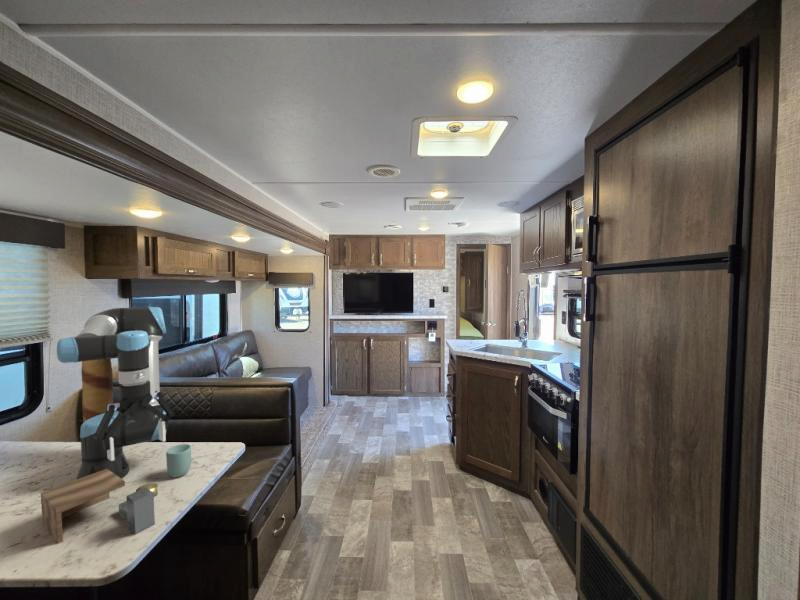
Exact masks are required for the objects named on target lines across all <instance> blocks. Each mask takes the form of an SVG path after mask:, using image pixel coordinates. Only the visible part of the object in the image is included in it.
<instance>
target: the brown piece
mask: <svg viewBox="0 0 800 600" xmlns="http://www.w3.org/2000/svg"><path fill="white" fill-rule="evenodd" d="M76 479H77V478H76ZM76 479H75V480H72V481H70V482H67V483H64V484H62V485H59V486H56V487H54V488H51V489H48V490H45V491H43V492H40V501H41V503H40V504H41V520H42V526H43V528H45V530H46V531H47V532H48V533H49V534H50V535H51V537H52V538H53V540H55V542H56V543H57V544H60V543H62V542H64V537H63V536H64V535H63V521H62V519H64V518H67V517H68V516H71V515H73V514H75V513H77V512H80V511H82V510H85V509H87V508H89V507H91V506H94V505H96V504H99V503H100V502H103V501H106V500H107V499H110V493H112V492H113V491H116V490H117V489H120V488H123V487H125V486H126V481H125V480H124V479H123V478H120V477H118V476H117V475H115V474H114V473H112V472H111V471H110V470H108V469H104V470H102V471H99V472H96V473H94V474H91V475H88V476H86V477H83V478H80V479H77V480H76Z"/></svg>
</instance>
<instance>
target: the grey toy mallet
mask: <svg viewBox="0 0 800 600" xmlns="http://www.w3.org/2000/svg"><path fill="white" fill-rule="evenodd" d="M154 498H155V497H154V493H153V492H152V491H151V490H149V489H148V488H146V487H145V488H143V489H141V490H139V491H136V490H135V491H134V492H132V493H130V494H128V495H126V501H123V502H121V503H119V504H118V515H120V514H121V515H122V516H123V517H124V518H123V517H122V516H121V515H120V516H121V517H122V518H123V519H124V520H126V521H127V528H128V530H130V531H131V532H132V533H133V534H134V535H137V534H140V533H141V532H143V531H145V530H147V529H149V528H151V527H152V526H154V525H156V524H155V523H156V520H155V499H154Z"/></svg>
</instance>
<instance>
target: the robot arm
mask: <svg viewBox="0 0 800 600" xmlns="http://www.w3.org/2000/svg"><path fill="white" fill-rule="evenodd" d="M83 326H84V327H83V329H82V330H81V331H79V333H78V334H77V335H76V336H70V337H62V338H60V339H58V341H57V343H56V357H57V360H58V361H59V362H60V363H62V364H67V363H80V362H81V363H82V361H92V360H101V359H111V360H112V359H117V365H118V368H117V369H118V371H117V374H118V383H119V386H118V392H119V394H118V395H119V400H118V402H115V403H114V402H113V404H111V403H108V404H107V405H106V412H105V413H104V414H100V415H97V416H95V417H92V418H90V419H88V420H87V421H85V422H84V421H83V423H82V424H81V425H80V434H79V439H80V450H81V451H80V452H81V465H80V467H79V470H78V473H77V476H76V478H75V480H77V479H80V478H83V477H86V476H88V475H91V474H94V473H96V472H99V471H102V470H104V469H108V470H110V471H111V472H112V473H114V474H115V475H117V476H118V477H120V478H121V479H123V478H124V477H126V476H127V475H128V474H129V473H130V464H129V463H130V462H128V459H127V457H126V456H125V454H124V450H123V447H128V446H133V445H137V444H142V443H147V442H153V441H157V440H159V441H160V442H163V443H164V442H166V441H167V439H166V438H167V437H166V435H167V430H168V429H169V421H170V420H171V417H172V418H173V417H174V416H175V413H174V411H173V410H172V409H171V407H170V405H169V404H168V403H167V402H166V400H165V398H164V395H163V392H161V391H160V389H161V388H160V387H161V386H160V361H159V360H160V359H159V356H160V355H159V342H160V341H161V340H162V339H163V335H165V334H166V333H167V329H166V325H165V317H164V312H163V309H162V308H161V307H158V306H140V307H116V308H110V309H106V310H102V311H100V312H98V313H96V314H95V313H94V315H92V316H91V317H89V318H88V319H87V320H86V321H85V323H84V325H83ZM118 408H120V410H118V411H117V409H118Z"/></svg>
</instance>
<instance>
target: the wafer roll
mask: <svg viewBox="0 0 800 600" xmlns="http://www.w3.org/2000/svg"><path fill="white" fill-rule="evenodd" d="M113 378H114V377H113V368H112V359H101V360H92V361H82V362H81V383H82V385H81V387H82V388H81V389H82V393H81V395H82V400H81V401H82V402H81V403H82V405H81V408H82V409H81V410H82V419H83V423H84V422H85V421H87V420H88V419H90V418H92V417H95V416H97V415H100V414H104V413H105V412H106V405H107V404H108V403H111V404H114V381H113V380H114V379H113Z"/></svg>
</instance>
